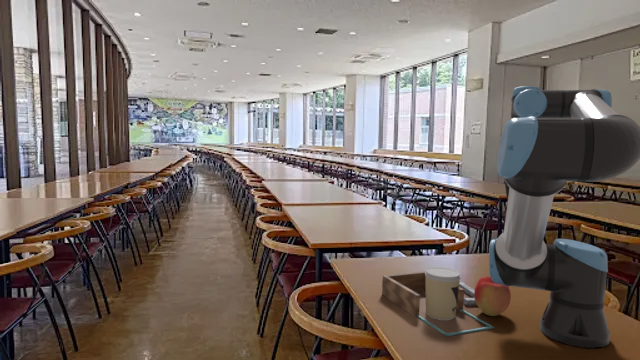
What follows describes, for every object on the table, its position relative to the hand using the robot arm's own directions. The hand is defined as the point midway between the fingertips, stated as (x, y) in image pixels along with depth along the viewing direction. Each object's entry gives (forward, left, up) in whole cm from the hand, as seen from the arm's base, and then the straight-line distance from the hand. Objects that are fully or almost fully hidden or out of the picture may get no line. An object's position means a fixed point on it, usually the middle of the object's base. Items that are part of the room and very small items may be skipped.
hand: (517, 222), depth 130 cm
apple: (-5, +13, -25) cm, 28 cm away
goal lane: (-6, +26, -24) cm, 36 cm away
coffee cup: (-1, +26, -25) cm, 36 cm away
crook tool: (+10, +10, -25) cm, 28 cm away
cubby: (+9, +26, -24) cm, 37 cm away
